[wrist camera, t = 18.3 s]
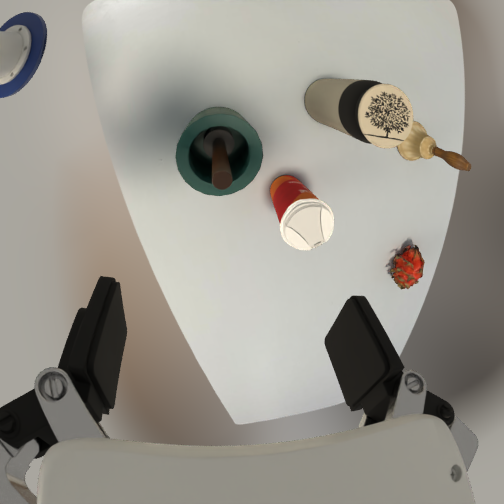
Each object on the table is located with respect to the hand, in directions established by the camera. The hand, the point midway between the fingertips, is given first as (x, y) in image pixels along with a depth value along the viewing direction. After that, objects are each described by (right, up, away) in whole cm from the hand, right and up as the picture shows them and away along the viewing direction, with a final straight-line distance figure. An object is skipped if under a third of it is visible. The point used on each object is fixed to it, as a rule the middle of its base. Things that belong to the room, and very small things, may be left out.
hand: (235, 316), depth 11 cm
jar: (-5, +20, +30) cm, 36 cm away
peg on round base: (-5, +20, +29) cm, 36 cm away
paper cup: (+6, +14, +36) cm, 39 cm away
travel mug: (+13, +27, +28) cm, 41 cm away
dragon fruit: (+37, +1, +50) cm, 62 cm away
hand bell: (+32, +24, +33) cm, 52 cm away
